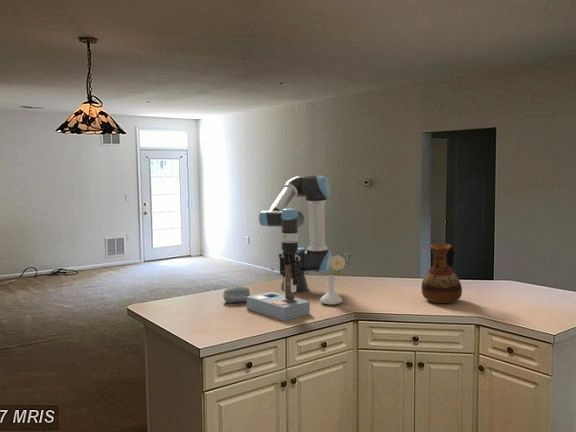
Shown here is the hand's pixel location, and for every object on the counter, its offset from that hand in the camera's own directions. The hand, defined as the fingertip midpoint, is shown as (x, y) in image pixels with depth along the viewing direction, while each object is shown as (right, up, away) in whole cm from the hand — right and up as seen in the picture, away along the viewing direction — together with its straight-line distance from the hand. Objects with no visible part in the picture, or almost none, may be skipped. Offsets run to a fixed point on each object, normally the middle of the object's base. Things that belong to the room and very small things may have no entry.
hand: (290, 290), depth 241 cm
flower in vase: (+22, -9, +19) cm, 30 cm away
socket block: (-6, -11, +5) cm, 13 cm away
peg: (0, -4, 0) cm, 4 cm away
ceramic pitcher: (+78, -9, +23) cm, 82 cm away
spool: (-28, -9, +23) cm, 37 cm away
